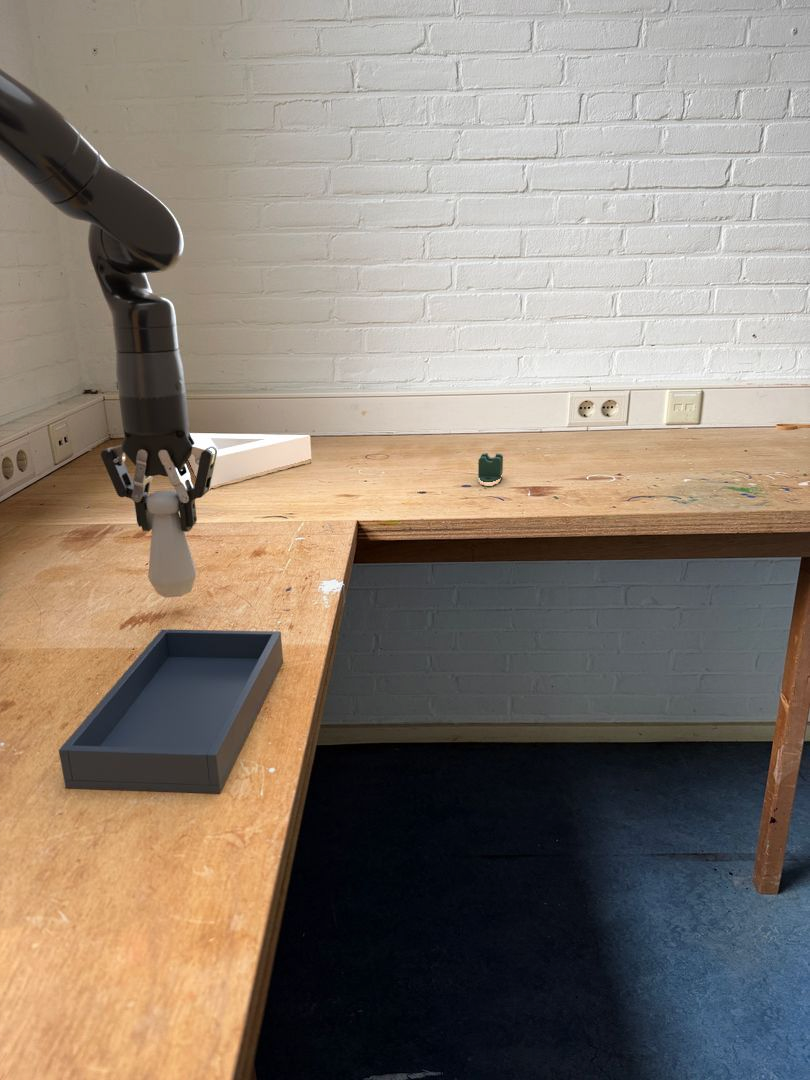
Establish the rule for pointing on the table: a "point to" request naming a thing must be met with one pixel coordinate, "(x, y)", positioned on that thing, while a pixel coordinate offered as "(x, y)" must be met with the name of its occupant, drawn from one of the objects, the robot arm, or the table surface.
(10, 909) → the table surface
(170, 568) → the salt shaker
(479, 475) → the mount
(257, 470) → the triangle block
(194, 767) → the dark blue tray
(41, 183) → the robot arm
